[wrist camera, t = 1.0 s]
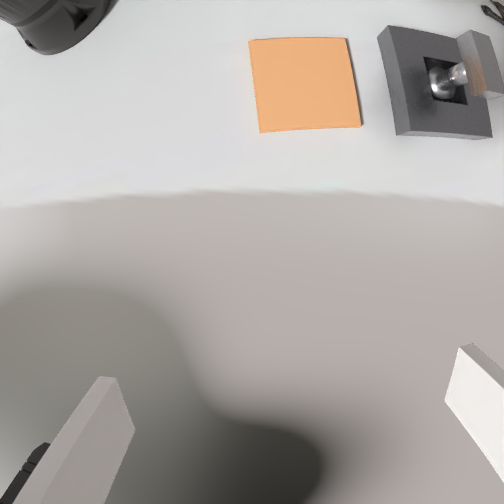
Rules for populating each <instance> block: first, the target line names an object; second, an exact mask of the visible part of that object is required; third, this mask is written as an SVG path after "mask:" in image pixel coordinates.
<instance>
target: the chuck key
mask: <svg viewBox="0 0 504 504" xmlns="http://www.w3.org/2000/svg"><path fill="white" fill-rule="evenodd" d="M456 40H457V43H458V46H459V50H460V53H461V57H462V60H463V62H461V63H459V64H457V65H455V66H453V67H451V68H449V69H447V70H444V69H443V68H440V67H435V68H432V69H431V70H429V71H427V75H428V79H429V84H430V89H431V94H432V99H433V101H444V100H446V99H449V98H451V97H453V96H454V94H455V90H456V88H455V87H458V86H460V85H463V84H465V83H468V84H469V88H470V93H471V96H475V97H480V98H485V99H492V98H496V97H500V96H503V95H504V86H503V82H502V78H501V74H500V70H499V66H498V63H497V59H496V56H495V53H494V50H493V46H492V43H491V40H490V38H489V36H487V35H484V34H481V33H478V32H475V31H473V30H469V31H468V32H466V33H464V34H463V35H461V36H460V37H458V38H456Z"/></svg>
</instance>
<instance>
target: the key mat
mask: <svg viewBox="0 0 504 504" xmlns="http://www.w3.org/2000/svg"><path fill="white" fill-rule="evenodd" d="M248 44H249V51H250V59H251V66H252V74H253V82H254V89H255V97H256V105H257V113H258V122H259V130H260V133H264V132H275V131H287V130H302V129H320V128H352V127H361V120H360V114H359V107H358V101H357V95H356V90H355V84H354V79H353V74H352V68H351V64H350V59H349V54H348V50H347V45H346V41H345V38H279V39H263V40H251V41H248Z"/></svg>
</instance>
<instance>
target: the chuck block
mask: <svg viewBox="0 0 504 504" xmlns="http://www.w3.org/2000/svg"><path fill="white" fill-rule="evenodd" d="M377 39H378V43H379V47H380V51H381V55H382V59H383V64H384V68H385V73H386V77H387V82H388V87H389V93H390V98H391V104H392V110H393V116H394V122H395V129H396V135H403V136H430V137H448V138H461V139H472V140H478V139H486V138H493V137H492V130H491V124H490V117H489V112H488V106H487V101H486V99H485V98H480V97H475V96H471V93H470V88H469V84H468V83H465V84H463V85H460V86H458V87H455V88H456V90H455V94H454V96H453V97H451V98H450V103H449V102H441V101H433V99H432V94H431V89H430V84H429V79H428V75H427V71H426V68H428V69H432V68H435V67H440V68H443V69H444V70H447V69H449V68H451V67H453V66H455V65H457V64H459V63H461V62H463V60H462V57H461V53H460V50H459V46H458V43H457V40H456V39H454V38H450V37H446V36H442V35H438V34H433V33H429V32H424V31H419V30H414V29H409V28H403V27H397V26H390V25H388V26H387V27H386V28H385V29H384V30H383V31H382V32H381V34H380V35H379V36H378V37H377Z"/></svg>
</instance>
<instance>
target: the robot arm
mask: <svg viewBox="0 0 504 504" xmlns="http://www.w3.org/2000/svg"><path fill="white" fill-rule="evenodd" d="M109 2H110V0H0V19H2V20H3V21H5V22H7V23H9V24H11V25H13V26H15V27H16V29H17V30H18V32H19V33H20V35H21V37H22V38H23V39H24V41H25V43H26V44H27V46H28V47H29V48H31V49H32V50H34V51H36V52H38V53H40V54H43V55H53V54H57V53H60V52H63V51H65V50H67V49H69V48H70V47H72V46H74V45H75V44H77V43H78V42H79V41H81V40H82V39H83V38H84V37H85V36H86V35H88V34H89V33H90V32H91V31H92V30H93V28H94V27H95V26H96V25H97V24H98V22H99V21H100V20H101V18H102V17H103V15H104V14H105V12H106V10H107V8H108V5H109ZM444 401H445V402H446V403H447V405H448V406H449V407H450V409H451V410H452V411H453V412H454V414H455V415H456V416H457V418H458V419H459V420H460V422H461V423H462V424H463V426H464V427H465V428H466V430H467V431H468V432H469V434H470V435H471V437H472V438H473V439H474V441H475V442H476V443H477V445H478V446H479V448H480V449H481V450H482V452H483V453H484V455H485V456H486V457H487V459H488V460H489V462H490V463H491V465H492V466H493V467H494V469H495V470H496V472H497V473H498V474H499V476H500V477H501V479H502V481H503V482H504V370H503V369H502V368H501V367H500V366H499V365H497V364H496V363H495V362H494V361H493V360H491V358H489V357H488V356H487V355H486V354H484V352H482V351H481V350H480V349H479V348H478V347H476V346H475V345H474V344H473V343H472V344H468V345H465V346H461V347H459V350H458V354H457V358H456V362H455V366H454V369H453V373H452V377H451V380H450V384H449V387H448V390H447V394H446V397H445V400H444ZM134 432H135V428H134V425H133V423H132V420H131V418H130V415H129V413H128V410H127V407H126V405H125V402H124V399H123V396H122V394H121V391H120V388H119V385H118V382H117V379H116V378H111V377H100V376H99V377H98V379H97V380H96V381H95V383H94V384H93V385H92V387H91V388H90V389H89V391H88V392H87V394H86V395H85V396H84V398H83V399H82V401H81V402H80V403H79V405H78V406H77V408H76V409H75V411H74V412H73V413H72V415H71V416H70V417H69V419H68V420H67V422H66V423H65V425H64V426H63V427H62V429H61V430H60V432H59V433H58V435H57V436H56V438H55V439H54V441H53V442H52V443H51V444H48V443H43V444H42V445H40V446H39V447H37V448H36V449H35V450H34V451H33V452H32V453H31V455H30V456H29V458H28V459H27V463H26V462H25V464H24V465H23V466H22V468H21V469H22V470H21V471H19V472H18V474H17V475H16V477H15V478H14V480H13V481H12V483H11V484H10V486H9V487H8V489H7V490H6V492H5V493H4V495H3V496H2V498H1V499H0V504H104V502H105V500H106V497H107V495H108V493H109V490H110V488H111V485H112V483H113V481H114V478H115V476H116V473H117V471H118V469H119V466H120V464H121V462H122V459H123V457H124V455H125V452H126V450H127V448H128V446H129V443H130V441H131V439H132V436H133V434H134Z"/></svg>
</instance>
